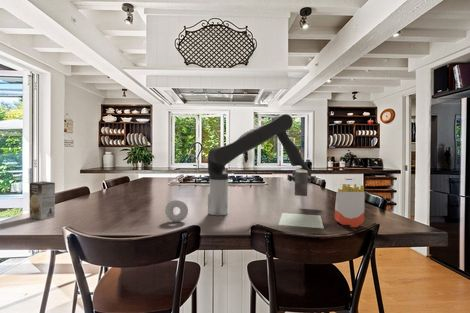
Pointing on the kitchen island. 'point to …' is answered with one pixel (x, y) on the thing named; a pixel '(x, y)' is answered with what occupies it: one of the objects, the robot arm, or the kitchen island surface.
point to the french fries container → (350, 205)
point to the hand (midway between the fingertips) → (301, 179)
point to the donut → (179, 204)
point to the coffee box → (42, 200)
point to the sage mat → (301, 220)
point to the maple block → (301, 182)
